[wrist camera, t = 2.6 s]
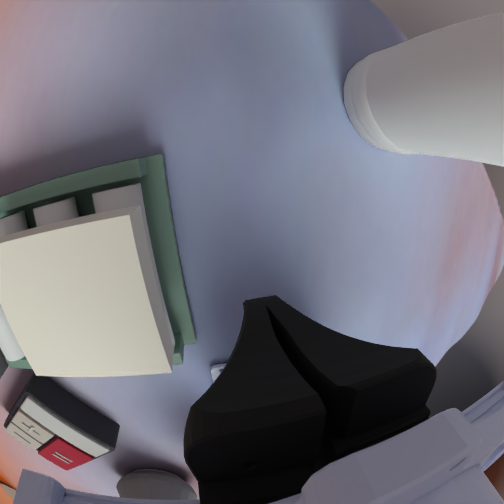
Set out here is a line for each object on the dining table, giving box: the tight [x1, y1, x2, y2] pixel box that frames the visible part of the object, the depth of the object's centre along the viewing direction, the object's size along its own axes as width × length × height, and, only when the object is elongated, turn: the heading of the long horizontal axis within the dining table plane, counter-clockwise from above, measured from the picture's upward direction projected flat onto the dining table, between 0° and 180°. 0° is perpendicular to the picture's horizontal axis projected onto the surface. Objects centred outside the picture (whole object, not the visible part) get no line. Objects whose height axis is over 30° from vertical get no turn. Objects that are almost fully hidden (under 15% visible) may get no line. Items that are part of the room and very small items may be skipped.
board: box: [0, 205, 174, 377], centre depth 14 cm, size 10×9×2 cm
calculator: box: [4, 373, 120, 470], centre depth 22 cm, size 11×4×15 cm
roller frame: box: [0, 154, 197, 378], centre depth 15 cm, size 20×14×7 cm
